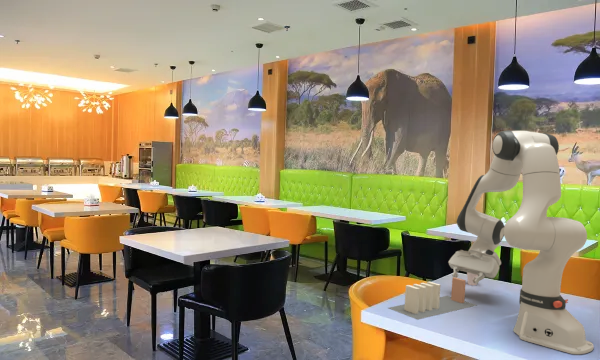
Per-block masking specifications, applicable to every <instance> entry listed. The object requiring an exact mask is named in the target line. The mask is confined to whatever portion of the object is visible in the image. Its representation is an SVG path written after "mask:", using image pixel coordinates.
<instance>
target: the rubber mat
mask: <svg viewBox="0 0 600 360" xmlns="http://www.w3.org/2000/svg"><path fill="white" fill-rule="evenodd" d="M477 306H478V304H475V303H472V302H469V301H465V300H464V303H460V302H456V301H453V300H451V295H444V296H440V301H439V309H435V308H432V310H430V311H429V310H426V309H425V312H421V311H418V313H417V314H414V313H412V312H409V311H406V310H404V309H405V303H404V304H399V305H396V306H395V305H394V306H390V307H388V309H389V310H392V311H394V312H397V313H399V314H402V315H404V316H407V317H410V318H412V319H415V320H417V321H418V320H422V319H426V318H430V317H435V316H440V315H442V314H446V313H452V312H456V311H459V310H465V309H468V308H471V307H477Z"/></svg>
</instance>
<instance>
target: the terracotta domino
mask: <svg viewBox="0 0 600 360" xmlns="http://www.w3.org/2000/svg"><path fill="white" fill-rule="evenodd" d="M466 282H467V279H462V278H459V277H457V278H456V277H454V278H453V277H452V280H451V294H450V297H451V300H453V301H456V302H460V303H464V301H465V299H466V298H465V296H466Z"/></svg>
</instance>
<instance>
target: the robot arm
mask: <svg viewBox="0 0 600 360" xmlns="http://www.w3.org/2000/svg"><path fill="white" fill-rule="evenodd" d="M559 145H560V143H559V141H558V138H556V136H555V135H552V134H550V133H546V132H537V131H529V130H510V129H508V130H501V131H499V132H497V133H496V134H495V136H494V137H493V140H492V144H491V146H492V152H493V157H492V160H491V164H490V166H489V169H488V170H487V172H486V173H485V174H481V175H480V176H479V177H478V178H477V180H476V181H475V183H474V184H473V187H472V189H471V191H470V192H469V195H468V197H467V199H466V201H465V204H464V205H463V207H462V209H461V211H460V212H459V214H458V215H457V218H456V225H457V226H458V229H459V230H460V231H462V232H465V233H470V234H472V235H474V236H477V237H476V239H475V240H474V242H473V243H472V244H471V246H470V247H469V249H468V250H463V249H460V250H457V251H455V253H454V254H453V255H452V256H451V257H450V258H449V260H448V266H449V267H450V269H453V273H451V274H452V275H451V276H452V278H454V277H456V278H459V274H458V272H459V271H460V272H465V273H467V272H468V273H472V274H476V275H478V277H476V278H475V277H474V279H473V283H475V284H476V285H478V284H479V283H480V282H481V281H483V279H485V278H488V279H494V278H495V277H496V276H497V274H499V273H498V272H499V271H500V266H501V265H502V260H501V259H500V256H499V255H498V253H497V252H495V249H497V248H498V247H499V246H500V245H499V244H501V242H502V240H503V239H504V238H505V240H506V242H507V244H508V245H509V246H511V247H514V248H516V249H521V250H526V251H527V250H528V251H529V250H530V251H539V252H538V254H537V256H536V257H535V258H534V259H532V260H530V261H528V262H527V263H525V265H524V266H523V269H522V284H521V288H520V290H519V291H520V292H519V310H518V316H517V319H516V322H515V325H514V328H513V332H514V334H516V335H518V337H519V339H520V340H522V341H525V342H529V343H532V344H536V345H540V346H542V347H546V348H549V349H553V350H557V351H560V352H564V353H567V354H571V355H585V354H588V353H590V352H592V351H593V350H594V344H593V342H591V341H589V340H587V339H586V331H585V327H584V324H582V323H581V322H580V321H579V320H578V319H577V318H576V317H575V316H573V314H572V313H571V312H570V311H569V310H567V309H566V305H567V303H569V299H564V298H563V297H562V295H561V288H562V287H561V286H562V279H563V278H562V277H563V273H564V270H565V268H566V265H567V263H568V262H569V260H570V258H571V257H572V256H573V255H574V254H575V253H576V252H578V251H579V250H581V249H582V248H584V246H585V245H586V243H587V239H588V232H587V229H586V227H585V226H584V224H583V223H582V222H581V221H578V220H575V219H572V218H568V217H557V216H556V217H555V216H548V215H547V213H548V209H549V208H550V206H553V205H554V204H556V203H558V201H559V200H560V199H561V197H562V186H561V172H560V165H559V160H558V153H559V151H560V150H559V147H560V146H559ZM521 175H522V199H521V204H520V206H519V208H518V210H517V211H516V212H515V214H514V215H513V216H512V217H510V218H509V219H507V221H506V223H505V224H504V222H503V221H502V220H501V219H500V218H497V217H495V216H492V215H489V214H486V213H483V212H481V211H478V210H477V205H478V203H479V202H480V199H481V198H482V195H483V194H484V193H503V192H507V191H510V190H512V189H513V188H515V187H516V186H517V184H518V183H519V180H520V176H521Z"/></svg>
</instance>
